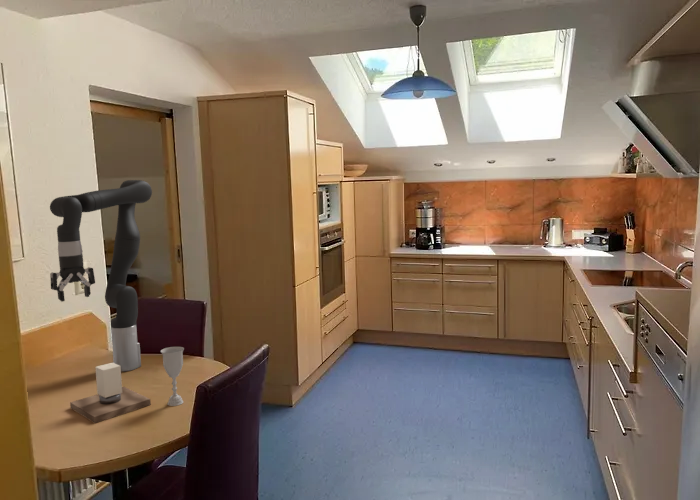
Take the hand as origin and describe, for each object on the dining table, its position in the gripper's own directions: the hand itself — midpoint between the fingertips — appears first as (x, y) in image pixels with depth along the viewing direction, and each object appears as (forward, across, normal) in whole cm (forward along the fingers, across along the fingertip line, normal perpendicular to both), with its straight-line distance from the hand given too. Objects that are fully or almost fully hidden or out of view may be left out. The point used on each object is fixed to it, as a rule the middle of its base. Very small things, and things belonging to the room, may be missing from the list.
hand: (74, 298), depth 192 cm
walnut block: (+32, +3, +28) cm, 42 cm away
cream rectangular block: (+27, +3, +28) cm, 39 cm away
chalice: (+32, -12, +42) cm, 54 cm away
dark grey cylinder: (+30, +3, +28) cm, 41 cm away
